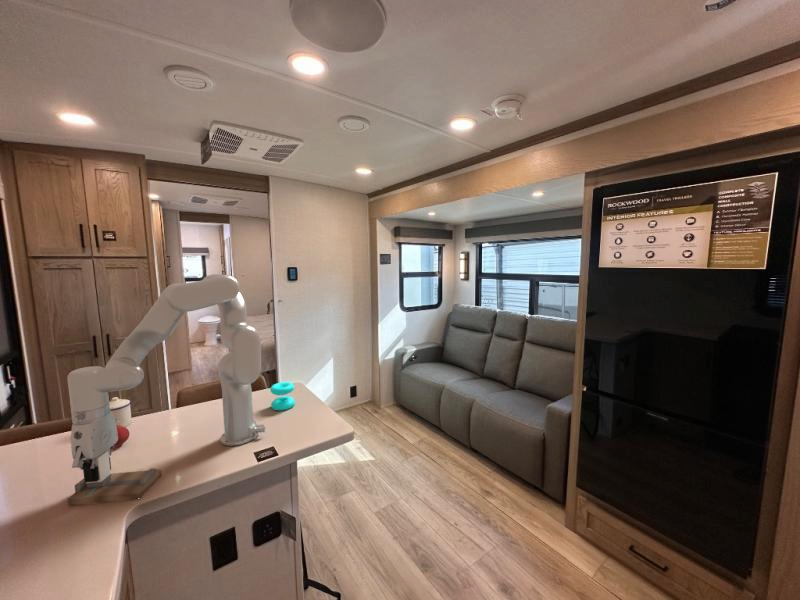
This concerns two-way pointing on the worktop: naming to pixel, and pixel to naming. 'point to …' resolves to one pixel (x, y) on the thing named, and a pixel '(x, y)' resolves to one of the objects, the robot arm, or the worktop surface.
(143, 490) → the wooden slider board
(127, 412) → the teacup with lid
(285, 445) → the worktop surface
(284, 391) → the donuts
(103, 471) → the fader
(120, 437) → the onion
